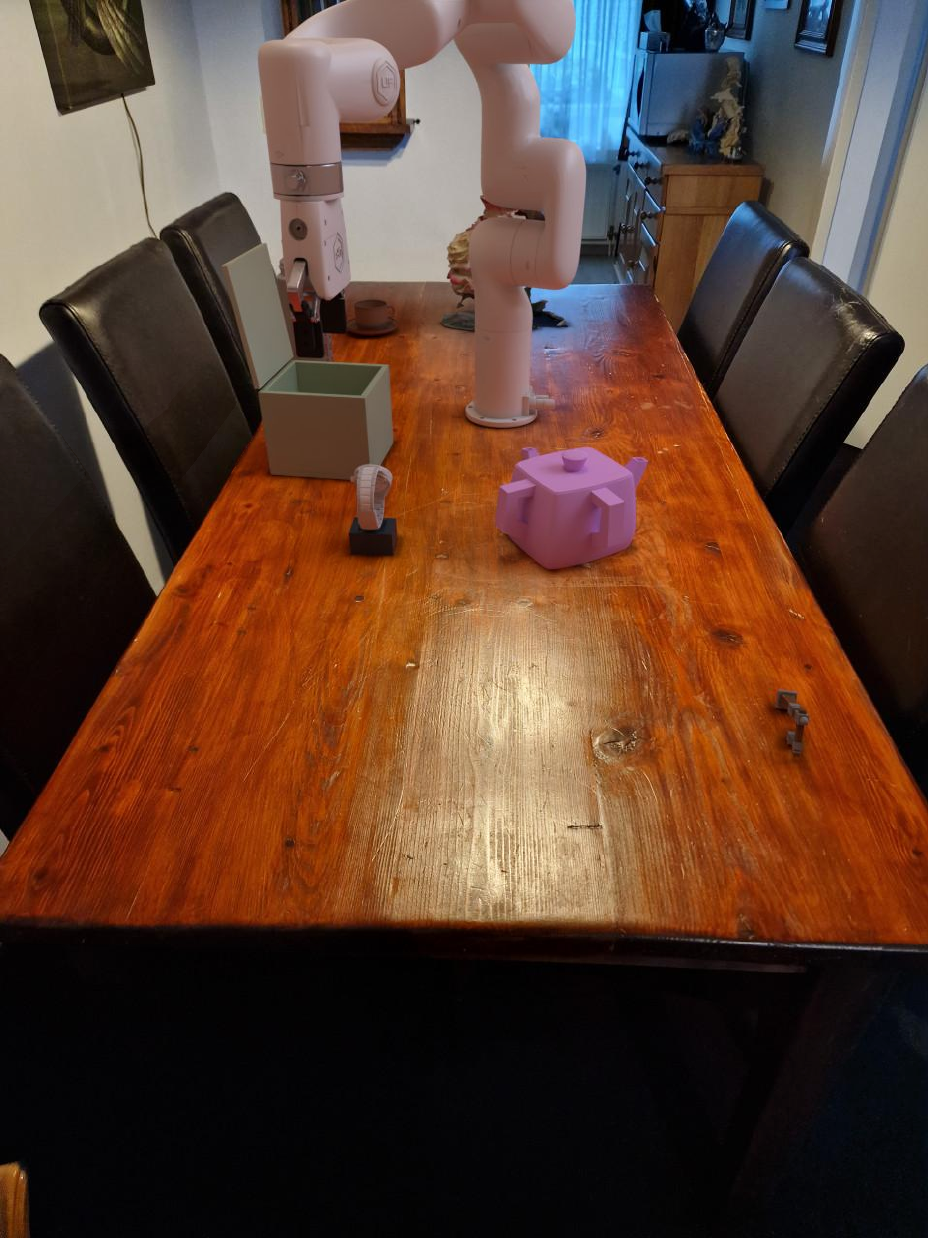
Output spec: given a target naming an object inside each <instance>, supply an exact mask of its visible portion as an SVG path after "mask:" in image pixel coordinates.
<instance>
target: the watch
mask: <svg viewBox="0 0 928 1238" xmlns="http://www.w3.org/2000/svg"><path fill="white" fill-rule="evenodd" d="M349 481H350V483H354V485H355V487H356V504H357V505H356V507H357V509H356V516H353V519H352V522H351V526H350V527H349V531H348V541H349V552H350V555H361V556H366V555H367V556H392V557H393V556H394V555H395V550H396V546H397V542H398V523H397V517H384V514H385V513H384V512H385V497H388V494H389V491H390V489H391V487H392V482H393V474H392V472H391V471H390V470H389V469H388V468H386V467H384V466H382V465H380V466H379V465H373V464H367V465H362V466H360V467H358V468H357V469H356V470H355V471H354V476H351V478H350V480H349Z"/></svg>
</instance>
